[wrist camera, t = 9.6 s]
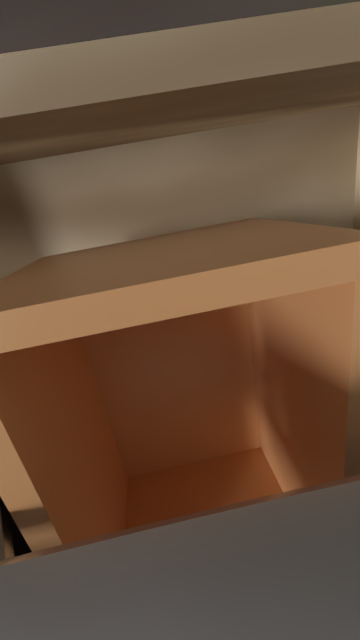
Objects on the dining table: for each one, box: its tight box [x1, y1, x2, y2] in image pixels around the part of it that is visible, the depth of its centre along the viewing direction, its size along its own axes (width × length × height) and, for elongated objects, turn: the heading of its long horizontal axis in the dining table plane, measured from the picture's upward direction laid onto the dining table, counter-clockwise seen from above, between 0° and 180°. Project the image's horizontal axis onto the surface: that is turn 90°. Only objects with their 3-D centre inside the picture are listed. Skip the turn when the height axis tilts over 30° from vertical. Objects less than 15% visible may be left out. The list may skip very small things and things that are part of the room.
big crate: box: [0, 1, 360, 279], centre depth 12 cm, size 18×20×6 cm
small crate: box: [0, 218, 360, 552], centre depth 9 cm, size 10×7×6 cm
